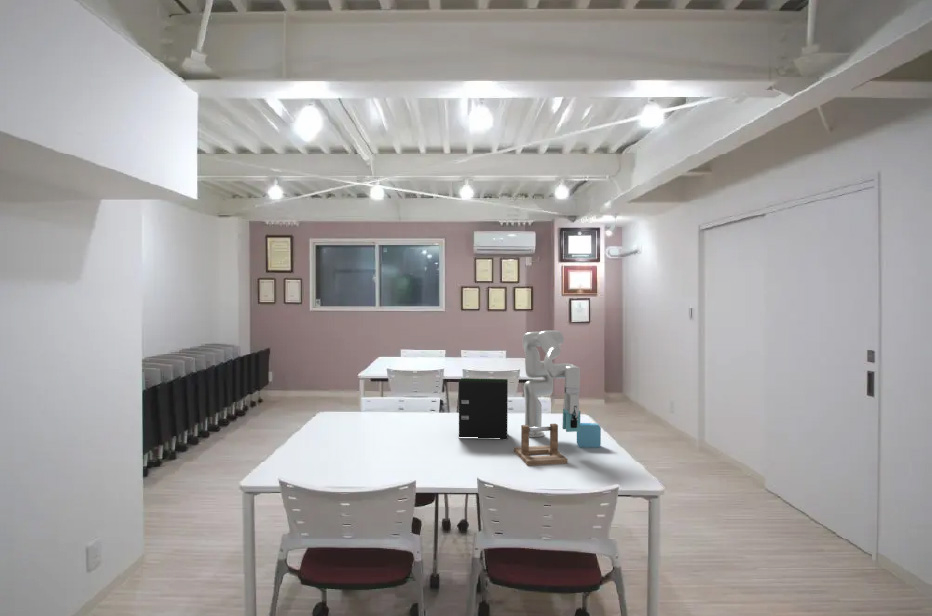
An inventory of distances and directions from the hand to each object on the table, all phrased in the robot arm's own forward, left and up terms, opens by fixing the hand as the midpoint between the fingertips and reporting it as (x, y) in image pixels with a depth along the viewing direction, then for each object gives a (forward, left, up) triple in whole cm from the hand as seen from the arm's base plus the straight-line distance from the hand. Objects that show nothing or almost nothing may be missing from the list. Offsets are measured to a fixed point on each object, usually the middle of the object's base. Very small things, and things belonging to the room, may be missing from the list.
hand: (571, 425), depth 271 cm
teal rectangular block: (0, 0, -2) cm, 2 cm away
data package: (-13, +15, -15) cm, 25 cm away
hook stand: (+1, -17, -15) cm, 23 cm away
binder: (-43, -36, -15) cm, 58 cm away
